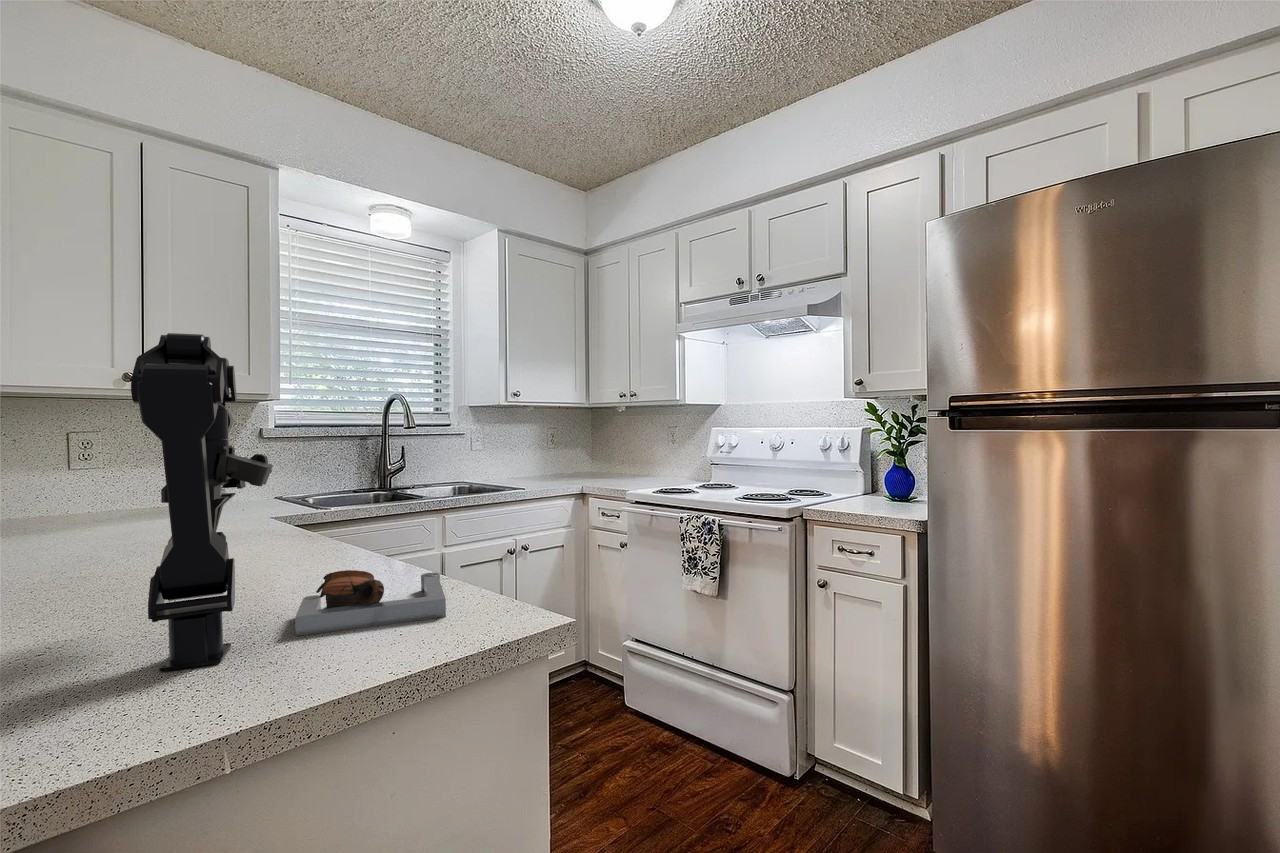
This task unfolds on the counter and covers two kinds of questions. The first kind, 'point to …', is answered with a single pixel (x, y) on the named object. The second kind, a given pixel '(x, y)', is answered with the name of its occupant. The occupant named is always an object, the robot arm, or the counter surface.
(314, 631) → the hook
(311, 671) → the counter surface
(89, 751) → the counter surface
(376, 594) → the pottery mug
